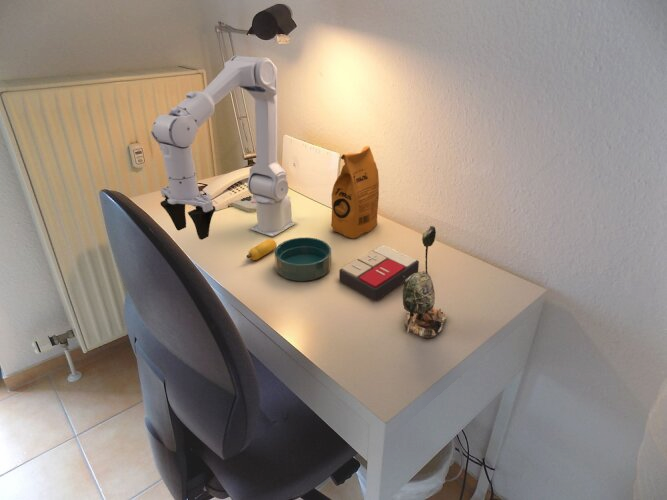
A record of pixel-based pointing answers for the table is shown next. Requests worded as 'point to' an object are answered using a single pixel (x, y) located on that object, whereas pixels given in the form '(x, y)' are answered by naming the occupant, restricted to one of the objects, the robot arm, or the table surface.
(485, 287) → the table surface
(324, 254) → the teal bowl
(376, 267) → the calculator
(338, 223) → the coffee package
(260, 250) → the amber tube
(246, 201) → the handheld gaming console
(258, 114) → the robot arm
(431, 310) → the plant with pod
